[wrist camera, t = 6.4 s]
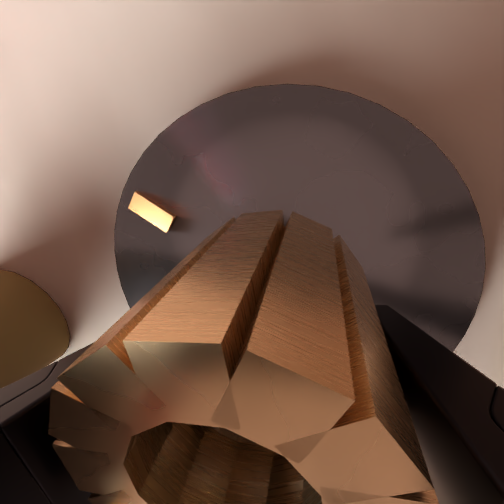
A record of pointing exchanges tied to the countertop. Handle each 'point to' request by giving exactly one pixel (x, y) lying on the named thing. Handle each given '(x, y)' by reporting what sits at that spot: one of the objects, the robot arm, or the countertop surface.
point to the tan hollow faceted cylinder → (244, 382)
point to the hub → (311, 197)
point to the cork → (28, 328)
